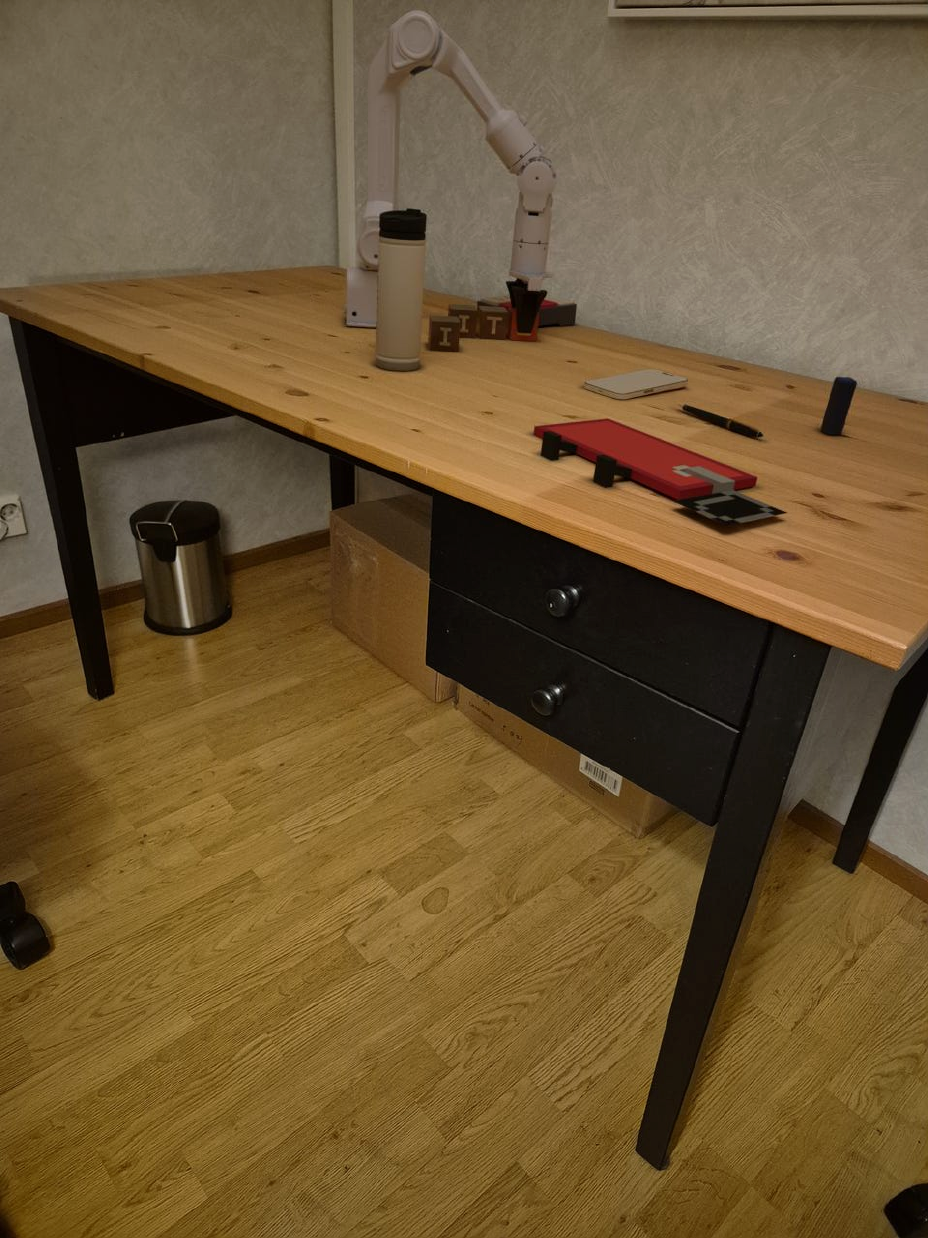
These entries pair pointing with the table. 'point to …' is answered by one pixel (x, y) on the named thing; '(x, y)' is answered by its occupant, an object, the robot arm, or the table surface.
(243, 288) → the table surface
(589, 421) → the red board with handle
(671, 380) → the smartphone
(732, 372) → the table surface
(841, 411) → the eraser
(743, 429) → the fountain pen
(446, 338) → the I block front
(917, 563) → the table surface
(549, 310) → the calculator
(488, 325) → the T block
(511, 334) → the block
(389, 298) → the travel mug
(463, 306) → the dark brown cube block
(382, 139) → the robot arm
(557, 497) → the table surface
